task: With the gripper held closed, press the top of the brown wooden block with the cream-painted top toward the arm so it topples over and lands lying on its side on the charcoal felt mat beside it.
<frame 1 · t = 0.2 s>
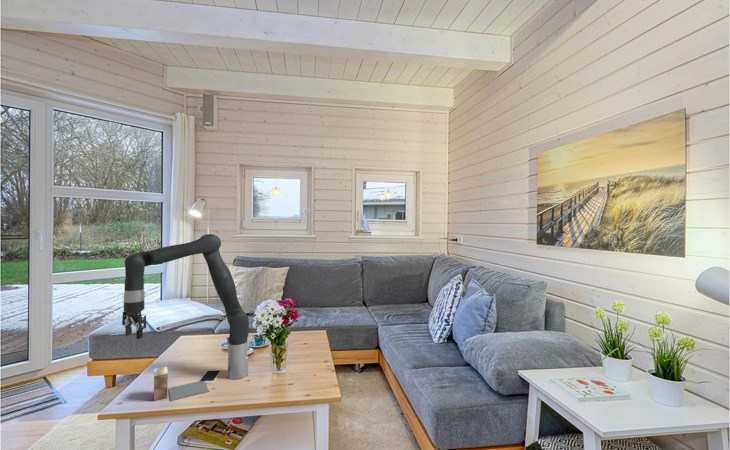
hand: (133, 336, 146), 28 cm above the table, tool pointing down, fingers open, 8 cm apart
brown wooden block: (160, 396, 150), on the table
smartphone: (210, 377, 171), on the table
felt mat: (188, 390, 156), on the table
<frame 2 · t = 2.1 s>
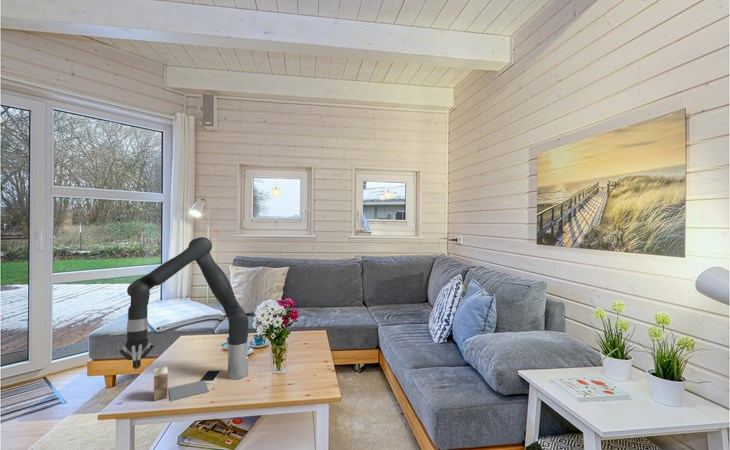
hand: (136, 368, 145), 15 cm above the table, tool pointing down, fingers closed
nothing on the table moved.
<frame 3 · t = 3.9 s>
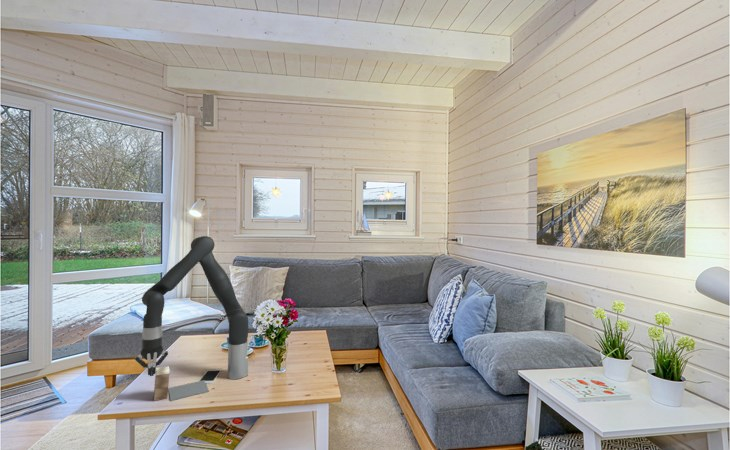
hand: (151, 375, 148), 10 cm above the table, tool pointing down, fingers closed
brown wooden block: (160, 396, 150), on the table, touching gripper
everything else where it was.
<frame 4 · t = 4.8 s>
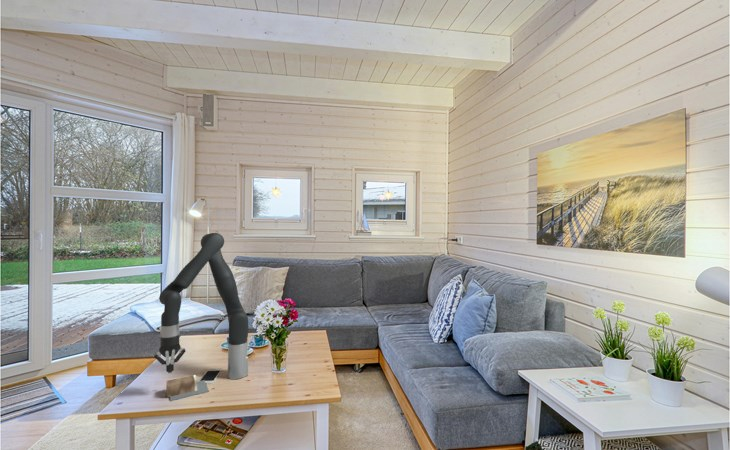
hand: (169, 372, 152), 10 cm above the table, tool pointing down, fingers closed
brown wooden block: (166, 388, 152), point 3 cm above the table, tilted 90°, touching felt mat
everything else where it was.
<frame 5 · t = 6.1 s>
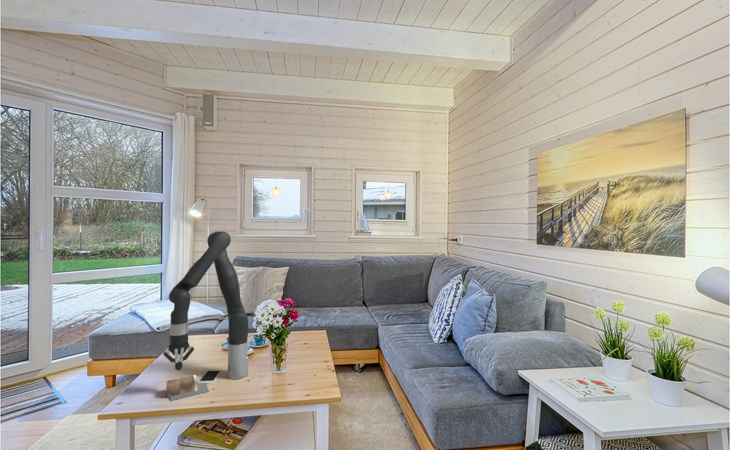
hand: (178, 369, 154), 10 cm above the table, tool pointing down, fingers closed
nothing on the table moved.
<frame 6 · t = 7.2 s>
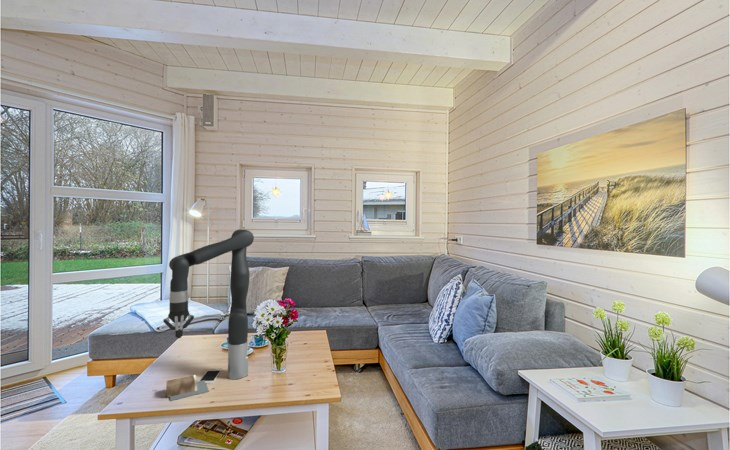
hand: (178, 337, 154), 25 cm above the table, tool pointing down, fingers closed
nothing on the table moved.
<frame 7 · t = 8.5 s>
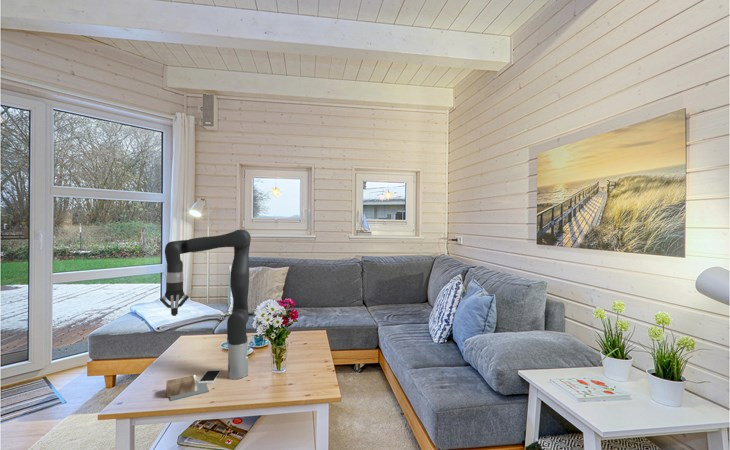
hand: (174, 315, 167), 32 cm above the table, tool pointing down, fingers closed
nothing on the table moved.
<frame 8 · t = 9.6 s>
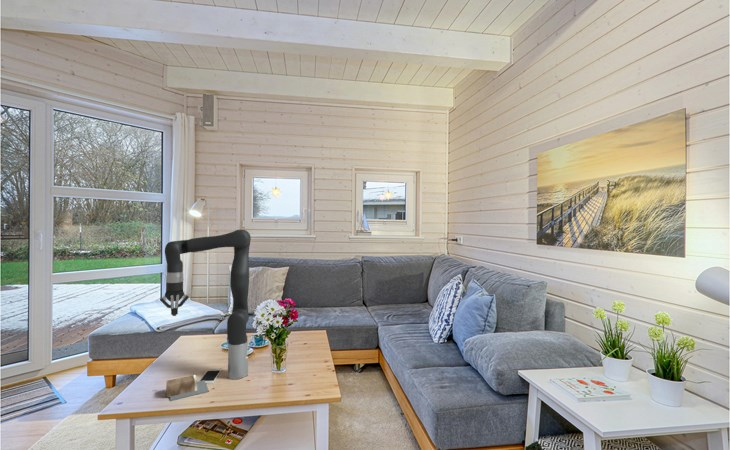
hand: (174, 315, 167), 32 cm above the table, tool pointing down, fingers closed
nothing on the table moved.
at the end: brown wooden block tilted 90°; brown wooden block touching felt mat; the gripper is holding nothing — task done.
